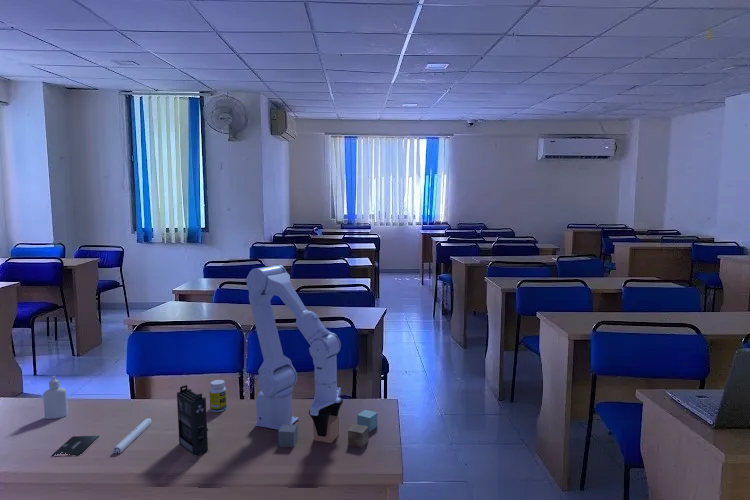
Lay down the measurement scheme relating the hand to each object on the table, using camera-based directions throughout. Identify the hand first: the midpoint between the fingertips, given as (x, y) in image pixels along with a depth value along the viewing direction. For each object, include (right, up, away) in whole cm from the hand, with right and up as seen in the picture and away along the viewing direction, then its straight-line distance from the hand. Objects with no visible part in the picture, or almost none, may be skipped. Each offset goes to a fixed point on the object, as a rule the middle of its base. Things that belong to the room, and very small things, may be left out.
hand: (326, 430), depth 136 cm
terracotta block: (0, -2, 0) cm, 2 cm away
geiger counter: (-33, -3, -5) cm, 33 cm away
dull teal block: (+11, -1, +6) cm, 12 cm away
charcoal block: (-10, -2, -3) cm, 10 cm away
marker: (-51, -2, +1) cm, 51 cm away
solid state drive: (-63, -3, -4) cm, 64 cm away
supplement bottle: (-34, 0, +18) cm, 38 cm away
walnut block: (+8, -2, -3) cm, 9 cm away
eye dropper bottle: (-79, -1, +14) cm, 80 cm away
